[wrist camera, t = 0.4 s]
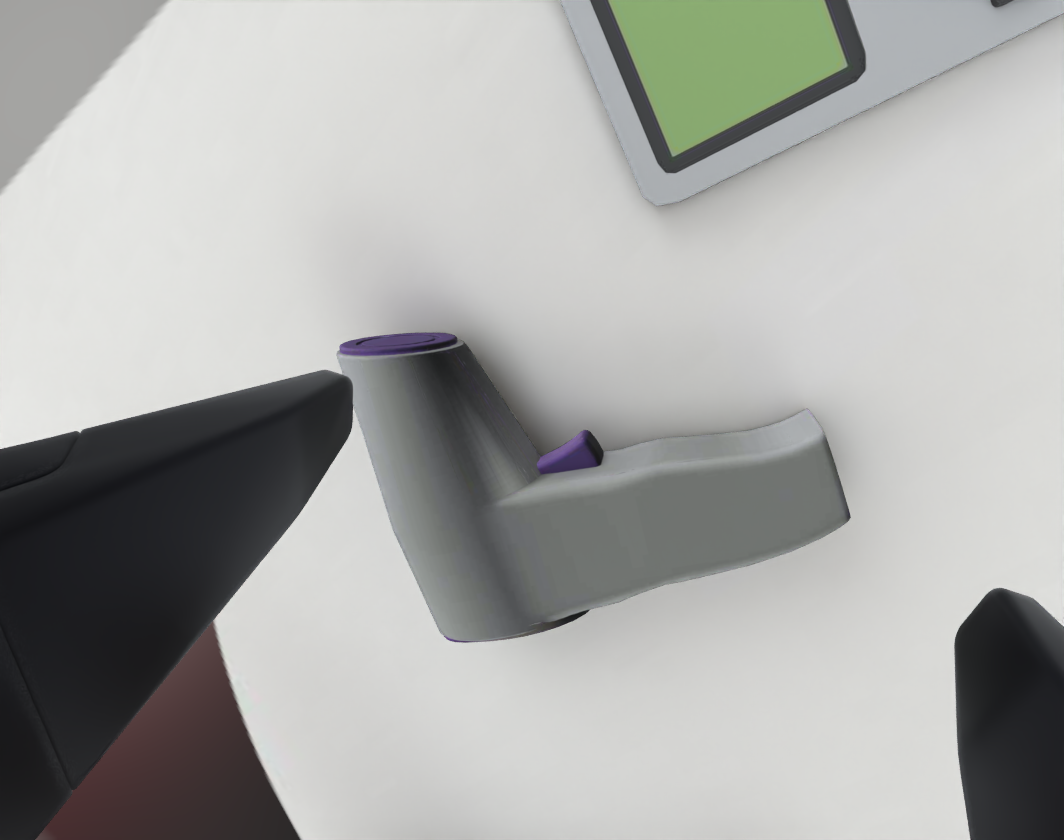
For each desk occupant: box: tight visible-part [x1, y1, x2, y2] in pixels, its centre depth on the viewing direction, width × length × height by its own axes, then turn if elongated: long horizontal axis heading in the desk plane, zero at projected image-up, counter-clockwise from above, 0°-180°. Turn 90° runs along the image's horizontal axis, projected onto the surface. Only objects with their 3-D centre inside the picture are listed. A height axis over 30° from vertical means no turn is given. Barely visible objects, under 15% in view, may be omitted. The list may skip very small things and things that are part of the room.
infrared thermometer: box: [337, 333, 851, 642], centre depth 24 cm, size 5×12×15 cm
